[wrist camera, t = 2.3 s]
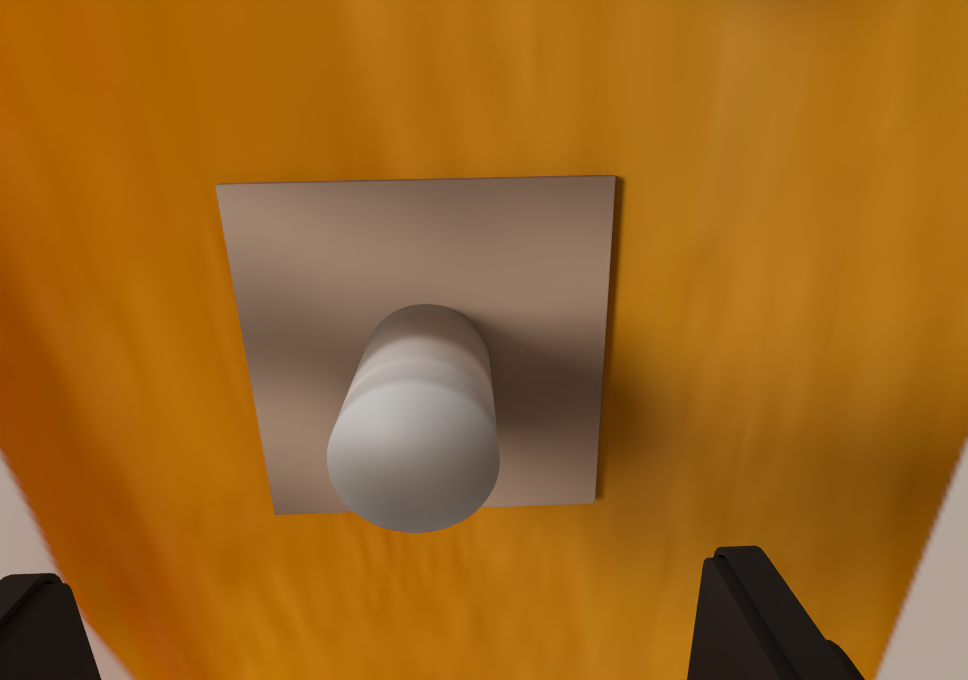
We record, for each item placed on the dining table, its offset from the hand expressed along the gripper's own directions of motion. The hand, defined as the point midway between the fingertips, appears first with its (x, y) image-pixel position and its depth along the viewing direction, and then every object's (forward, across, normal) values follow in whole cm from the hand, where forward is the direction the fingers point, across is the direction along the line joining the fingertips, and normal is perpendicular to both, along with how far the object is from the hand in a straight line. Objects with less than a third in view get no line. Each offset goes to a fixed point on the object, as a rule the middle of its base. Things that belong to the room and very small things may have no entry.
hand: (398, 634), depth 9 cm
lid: (+9, 0, -1) cm, 9 cm away
